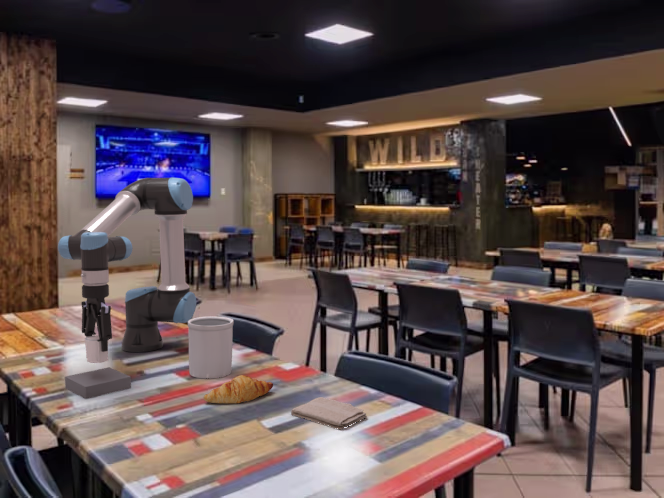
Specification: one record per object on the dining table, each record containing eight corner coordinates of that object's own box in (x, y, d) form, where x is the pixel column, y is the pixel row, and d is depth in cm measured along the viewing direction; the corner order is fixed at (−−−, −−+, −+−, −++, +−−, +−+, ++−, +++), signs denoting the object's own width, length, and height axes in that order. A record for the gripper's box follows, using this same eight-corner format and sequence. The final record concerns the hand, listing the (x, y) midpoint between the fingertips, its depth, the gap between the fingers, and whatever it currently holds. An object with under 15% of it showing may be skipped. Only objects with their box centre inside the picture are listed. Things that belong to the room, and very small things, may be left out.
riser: (109, 379, 192) (109, 367, 192) (131, 389, 183) (130, 376, 182) (65, 389, 182) (64, 376, 182) (85, 400, 172) (85, 387, 172)
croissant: (207, 419, 167) (211, 398, 163) (196, 394, 174) (200, 373, 170) (276, 404, 178) (281, 384, 174) (263, 381, 185) (268, 361, 181)
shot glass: (101, 364, 177) (100, 340, 177) (80, 362, 179) (79, 339, 178) (114, 358, 184) (113, 335, 184) (93, 356, 185) (93, 334, 185)
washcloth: (342, 433, 150) (343, 421, 150) (288, 417, 161) (288, 405, 161) (369, 419, 160) (369, 408, 159) (316, 405, 170) (316, 394, 170)
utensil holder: (242, 369, 202) (242, 318, 201) (216, 382, 189) (215, 327, 187) (206, 364, 209) (206, 314, 207) (178, 375, 195) (177, 322, 194)
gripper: (67, 281, 183) (70, 355, 185) (99, 288, 170) (101, 368, 172) (91, 279, 189) (93, 351, 191) (123, 286, 176) (125, 363, 178)
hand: (97, 359), depth 181 cm, fingers closed on shot glass, 7 cm apart
